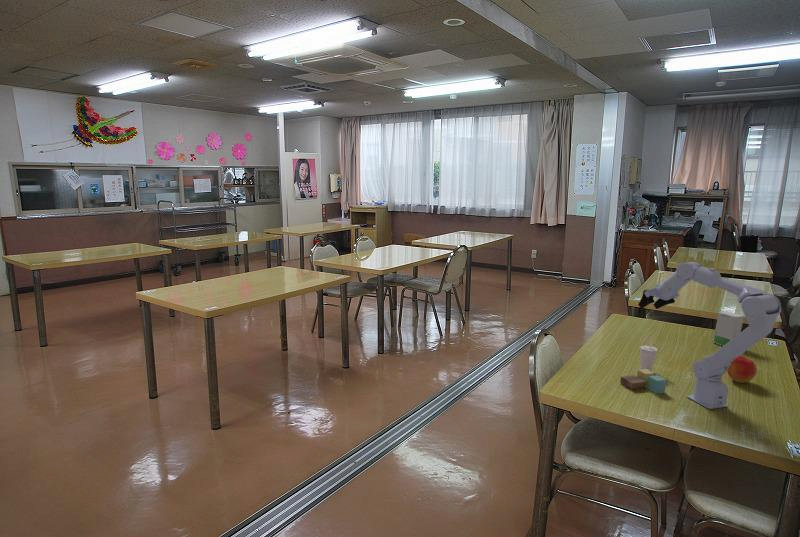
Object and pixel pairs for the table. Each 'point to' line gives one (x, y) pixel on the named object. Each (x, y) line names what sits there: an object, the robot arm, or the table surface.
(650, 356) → the smoothie
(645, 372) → the mustard block
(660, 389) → the teal block
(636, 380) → the walnut slab
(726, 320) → the skincare box
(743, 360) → the apple
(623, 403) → the table surface
